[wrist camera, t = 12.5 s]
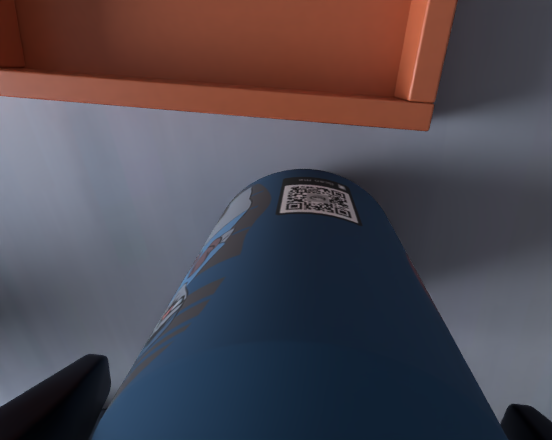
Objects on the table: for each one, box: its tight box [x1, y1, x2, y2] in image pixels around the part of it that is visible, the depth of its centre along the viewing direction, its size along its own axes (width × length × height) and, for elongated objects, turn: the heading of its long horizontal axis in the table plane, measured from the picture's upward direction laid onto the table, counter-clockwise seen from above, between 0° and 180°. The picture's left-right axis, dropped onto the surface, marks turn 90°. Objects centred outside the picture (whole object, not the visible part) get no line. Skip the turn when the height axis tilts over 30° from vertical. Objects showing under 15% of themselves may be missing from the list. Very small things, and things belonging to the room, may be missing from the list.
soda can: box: [92, 169, 508, 440], centre depth 10 cm, size 7×7×12 cm
